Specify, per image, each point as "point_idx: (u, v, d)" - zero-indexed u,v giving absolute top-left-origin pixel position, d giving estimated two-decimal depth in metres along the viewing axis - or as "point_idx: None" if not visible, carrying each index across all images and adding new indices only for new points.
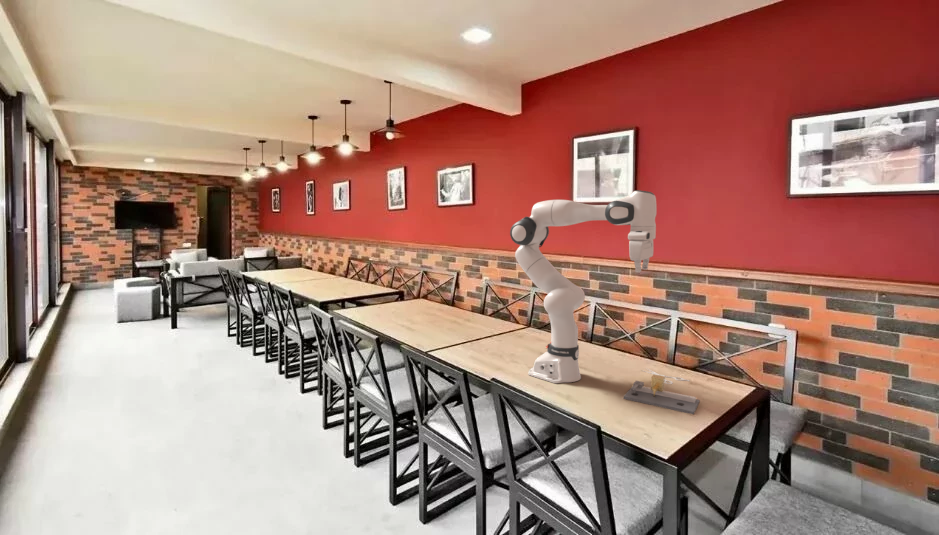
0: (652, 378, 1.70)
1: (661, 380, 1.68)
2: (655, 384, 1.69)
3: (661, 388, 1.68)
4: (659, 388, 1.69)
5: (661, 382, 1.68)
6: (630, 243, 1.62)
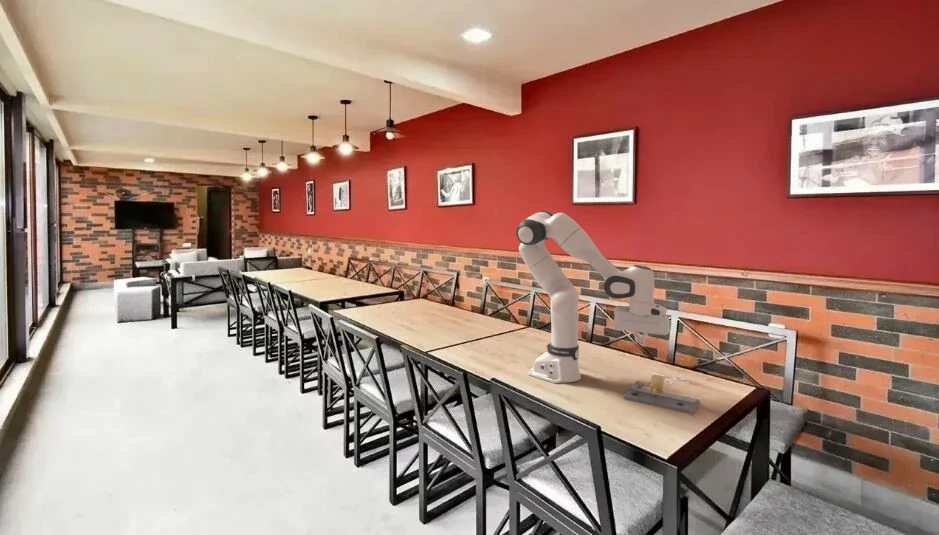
0: (652, 378, 1.70)
1: (661, 380, 1.68)
2: (655, 384, 1.69)
3: (661, 388, 1.68)
4: (659, 388, 1.69)
5: (661, 382, 1.68)
6: (665, 319, 1.65)
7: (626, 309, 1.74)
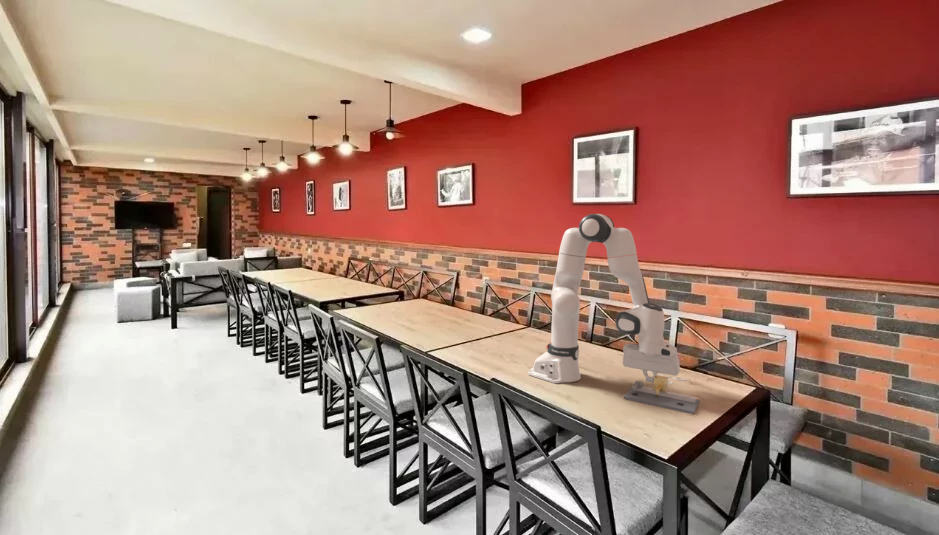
0: (655, 378, 1.69)
1: (664, 381, 1.67)
2: (658, 385, 1.69)
3: (664, 389, 1.68)
4: (662, 389, 1.68)
5: (664, 383, 1.67)
6: (675, 359, 1.64)
7: (636, 347, 1.73)
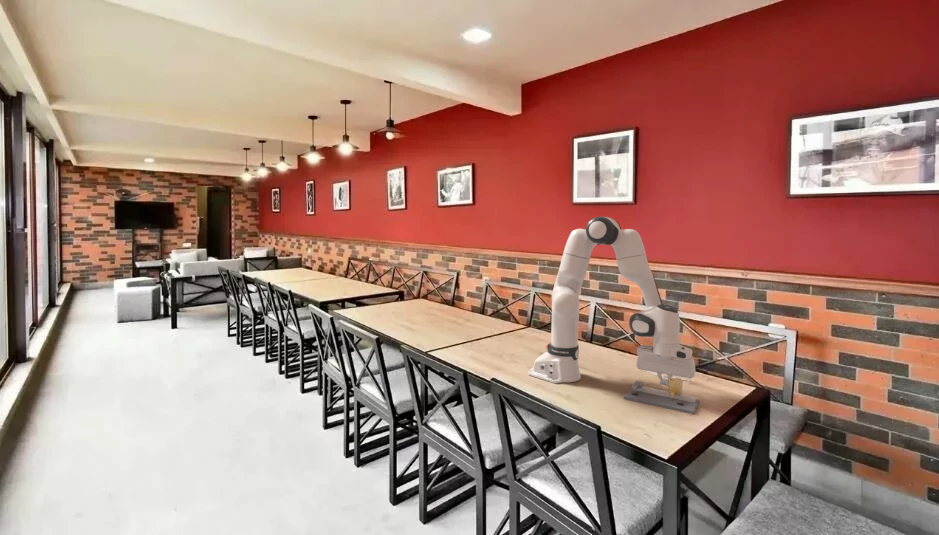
0: (670, 381, 1.66)
1: (679, 384, 1.64)
2: (673, 388, 1.66)
3: (679, 392, 1.65)
4: (677, 392, 1.65)
5: (679, 386, 1.64)
6: (691, 362, 1.61)
7: (650, 349, 1.70)
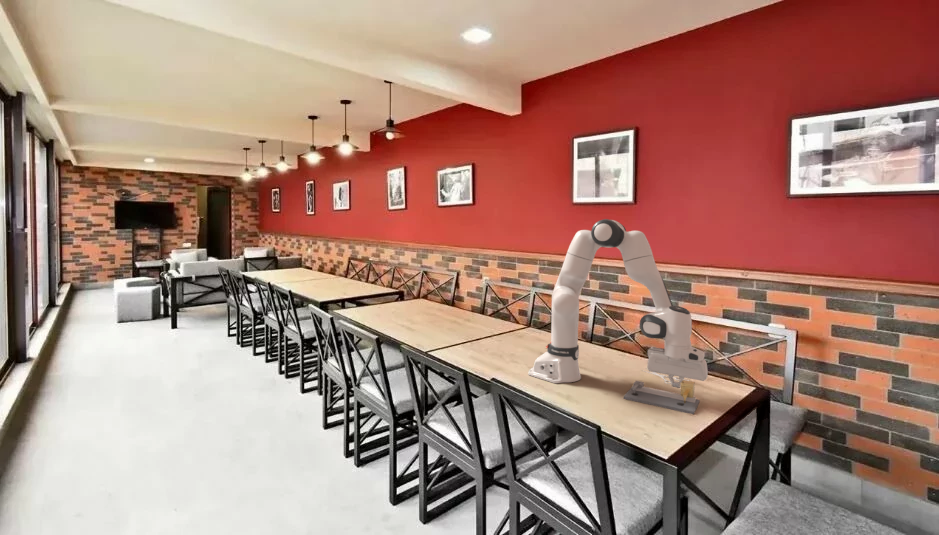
0: (682, 383, 1.64)
1: (691, 386, 1.62)
2: (685, 390, 1.63)
3: (691, 394, 1.62)
4: (689, 394, 1.63)
5: (691, 388, 1.62)
6: (704, 364, 1.59)
7: (661, 351, 1.68)
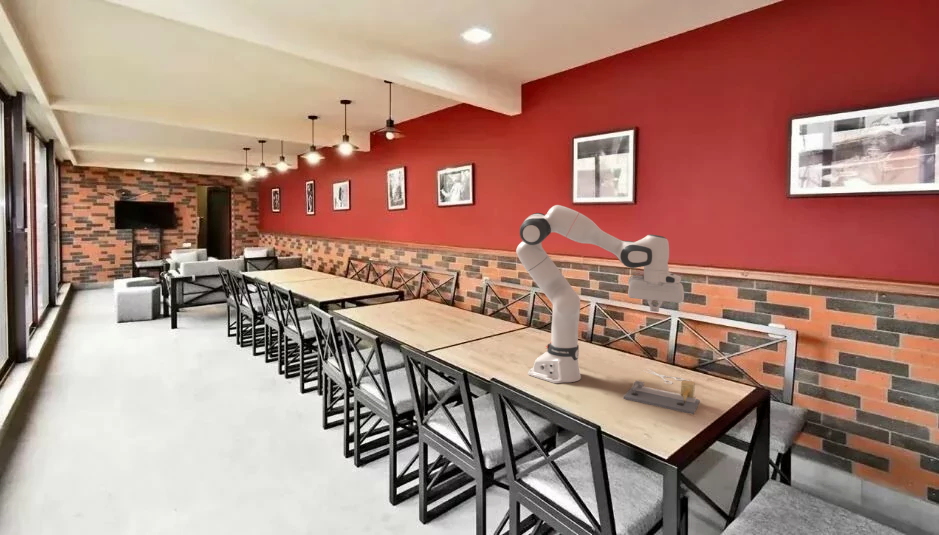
0: (682, 383, 1.64)
1: (692, 386, 1.62)
2: (685, 390, 1.63)
3: (692, 394, 1.62)
4: (689, 394, 1.63)
5: (692, 388, 1.62)
6: (680, 286, 1.68)
7: (641, 278, 1.77)
